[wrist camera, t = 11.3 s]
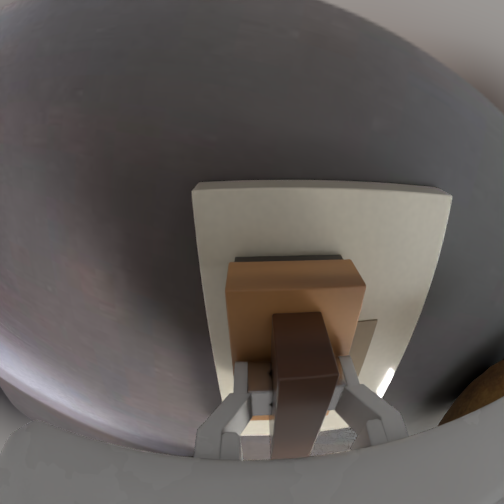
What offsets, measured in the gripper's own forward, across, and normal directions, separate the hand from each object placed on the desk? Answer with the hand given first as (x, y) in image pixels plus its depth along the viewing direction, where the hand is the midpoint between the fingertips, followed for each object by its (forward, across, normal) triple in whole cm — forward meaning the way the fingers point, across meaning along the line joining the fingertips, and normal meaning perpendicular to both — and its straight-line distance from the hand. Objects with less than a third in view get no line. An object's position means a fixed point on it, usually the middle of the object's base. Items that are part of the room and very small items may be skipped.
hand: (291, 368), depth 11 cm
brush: (+3, 0, 0) cm, 3 cm away
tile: (+5, -2, +3) cm, 6 cm away
